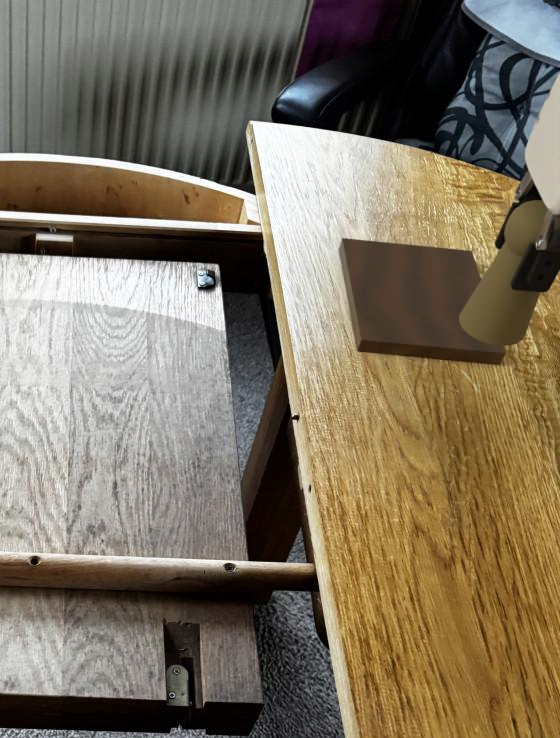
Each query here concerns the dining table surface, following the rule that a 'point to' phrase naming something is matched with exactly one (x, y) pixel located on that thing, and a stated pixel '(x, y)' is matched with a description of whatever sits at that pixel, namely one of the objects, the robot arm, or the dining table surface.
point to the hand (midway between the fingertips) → (520, 266)
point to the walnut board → (412, 300)
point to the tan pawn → (506, 284)
